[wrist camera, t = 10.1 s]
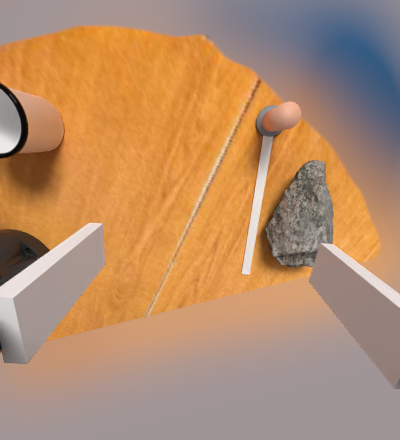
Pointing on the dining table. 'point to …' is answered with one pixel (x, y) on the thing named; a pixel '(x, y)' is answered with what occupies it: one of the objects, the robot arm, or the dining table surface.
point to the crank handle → (268, 126)
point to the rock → (302, 218)
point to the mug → (27, 123)
